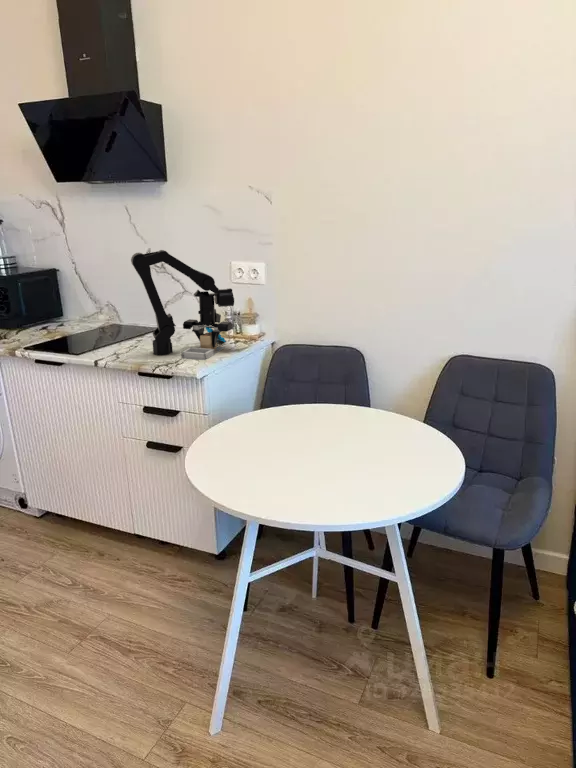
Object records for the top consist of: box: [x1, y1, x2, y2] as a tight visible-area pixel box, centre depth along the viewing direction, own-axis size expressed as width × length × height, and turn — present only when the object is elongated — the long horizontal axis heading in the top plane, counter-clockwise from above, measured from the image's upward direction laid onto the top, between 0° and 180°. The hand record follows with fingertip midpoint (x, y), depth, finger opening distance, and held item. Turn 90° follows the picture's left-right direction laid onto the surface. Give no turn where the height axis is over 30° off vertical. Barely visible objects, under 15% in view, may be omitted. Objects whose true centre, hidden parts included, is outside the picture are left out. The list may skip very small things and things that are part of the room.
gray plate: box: [180, 346, 226, 361], centre depth 212 cm, size 20×10×3 cm, turn 164°
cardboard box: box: [199, 332, 218, 349], centre depth 216 cm, size 6×4×6 cm, turn 164°
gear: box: [204, 328, 226, 343], centre depth 229 cm, size 11×6×10 cm
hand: (208, 346), depth 216 cm, fingers open, 4 cm apart
